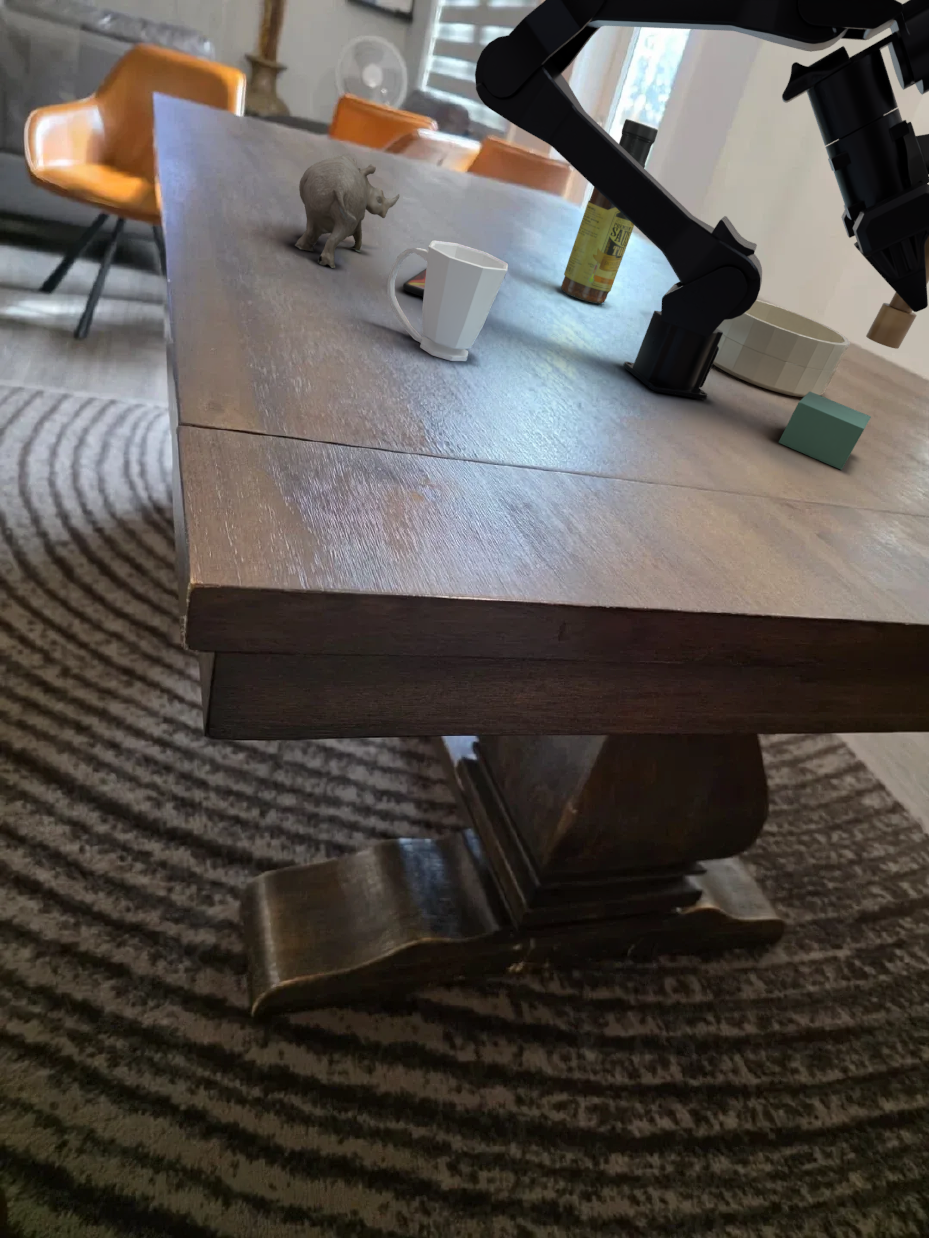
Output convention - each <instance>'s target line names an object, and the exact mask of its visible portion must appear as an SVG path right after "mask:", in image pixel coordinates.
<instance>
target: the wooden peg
mask: <svg viewBox="0 0 929 1238" xmlns="http://www.w3.org/2000/svg"><path fill="white" fill-rule="evenodd" d="M925 264H926V282H927V284H928V283H929V237H928V238H927V240H926V242H925ZM916 318H917V314H916V312H914V311H913V310H912V309H911V308H910V307H909V306H908V305H907V304H906V302H905V301H904V300H903V299H902V298H901V297H900V296H899V295H898V294H897V292H896V291H894V294H893V296H892V298H891V300H890V301H889V303H888V302H883V303H882V305H881V306H880V308H879V310H878V312H877V314H876V316H875V318H874V320H873V321H872V324H870V327H869V329H868V331H867V333H866V335H865V337H866V338H867V339H869V341H872V342H873V343H877V344H879V345H881V346H885V347H888V348H891V349H895V350H899V349H900V347H901V345H902V343H903V341H904V340H905V338H906V336H907V334H908V332H909V331H910V328H911V327H912V325H913V324H914V322H915V319H916Z"/></svg>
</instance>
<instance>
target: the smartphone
mask: <svg viewBox="0 0 929 1238" xmlns="http://www.w3.org/2000/svg"><path fill="white" fill-rule="evenodd" d="M425 279H426V268H424V269H423V270H421V271H420V272H419V273H417V274H415V275H414V276H412V277H411V278H409V279H408V280H406V281H405V282H404V283H403V285H402V288H403V290H404V291H405V292H407V293H410V294H413V295H417V296H420V297H422V298H423V297H424V288H425Z"/></svg>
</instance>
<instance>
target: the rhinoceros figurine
mask: <svg viewBox="0 0 929 1238" xmlns="http://www.w3.org/2000/svg"><path fill="white" fill-rule="evenodd" d="M376 168H377V167H376V165H374V164H368V166H367V167H365V168H360V167H358V164H357V159H356V158H351V157H350V156H348V155H347V154H342V155H337V156H333V157H330V158H329V157H328V158H326V159H323V160H320V161H318V162H315V163H313V164H312V165H310V166H309V167H308V168H307V169H306V170H305V171H304V173H303V174H302V176H301V177H300V180H299V185H298V187H299V189H298V190H299V196H300V200H301V202H302V204H303V205H304V210H305V216H306V224H305V226H306V227H305V231H304V233H303V234H302V235H301V236H300V237H299V238H298V239H297V241H296V243H295V244H294V246H295V247H296V248H298V249H299V250H303V251H304V250H305V251H310V252H315V250H314V246H315V245H316V244H317V243H318V241H319V239H320V237H322V235H326V234H330V235H328V237H327V240H326V242H325V245H324V247H323V250H322V252H321V254H320V256H319V258H318V260H317V263H318V264H319V265H321V266H326V265H328V266H329V267H330V268H333V269H334V268H335V269H336V265H335V251H336V248H337V247H338V246H339V244H341V243H342V242H344V240H346V239H347V238H349V237H353V240H354V244H353V245H352V246H349V249H354V251H356V252H357V253H362V251H361V247H362V245H363V242H362V239H363V229H362V221H364V219H365V217H366V211H367V212H368V213H369V214H371V215H374V216H379V217H380V218H382V219H385V218H386V217H387V213H388V212H389V209H391V208H393V207H394V206H395V205H396V203H397V202H398V201H399V199H400V196H401V194H400V193H398V194H397V195H395V196H394V197H392V198H387V197H385V195H384V190H383V189H382V188H380V187H375V186H373V185H372V184H371V183H370V180H369V177H368V176H369V175H373V174H375V172H376V170H377V169H376Z"/></svg>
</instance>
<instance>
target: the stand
mask: <svg viewBox="0 0 929 1238" xmlns="http://www.w3.org/2000/svg"><path fill="white" fill-rule="evenodd" d="M871 418H872V416H871V415H869V414H866V413H864V412H861V411H859V410H856V409H854V408H851V407H849V406H847V405H844V404H842V403H840V402H837V401H834V400H832V399H830V398H827V397H824V396H822V395H818V394H815V393H813V392H808V393H807V394H806V395H805V396H804V397H801V399H800V400H799V401H798V403H797V404H796V406H795V409H794V410H793V412H792V414H791V416H790V418H789V421H788V422H787V424H786V427H785V429H784V431H782V435H781V436H780V439H779V440H778V444H780V445H783V446H785V447H787V448H790V449H792V450H794V451H796V452H799V453H801V454H804V455H806V456H808V457H811V458H812V459H815V460H817V461H819V462H822V463H824V464H827V465H829V466H831V467H833V468H836V469H838V470H840V471H842V470H843V469H844V466H845V464H846V463H847V461H848V459H849V457H850V456H851V454H852V452H853V451H854V448H855V447H856V445H857V443H858V442H859V440H860V438H861V436H862V434H863V432H864V430H865V429H866V427H867V425H868V423H869V421H870V420H871Z"/></svg>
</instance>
